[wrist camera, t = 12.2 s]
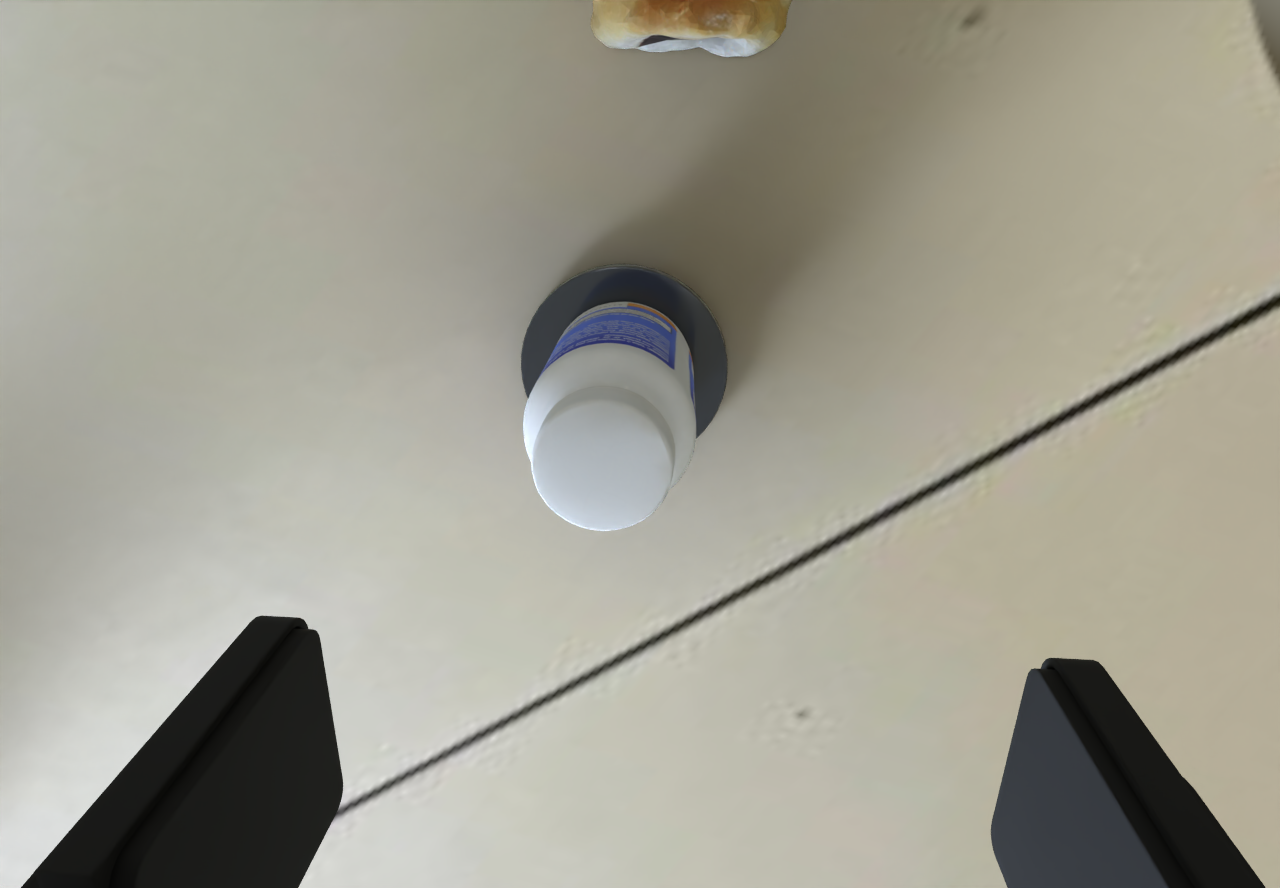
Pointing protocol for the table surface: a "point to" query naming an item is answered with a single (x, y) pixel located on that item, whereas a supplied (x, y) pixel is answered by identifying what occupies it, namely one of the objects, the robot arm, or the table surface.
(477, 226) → the table surface
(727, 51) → the pastry
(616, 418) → the pill bottle
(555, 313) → the coaster
